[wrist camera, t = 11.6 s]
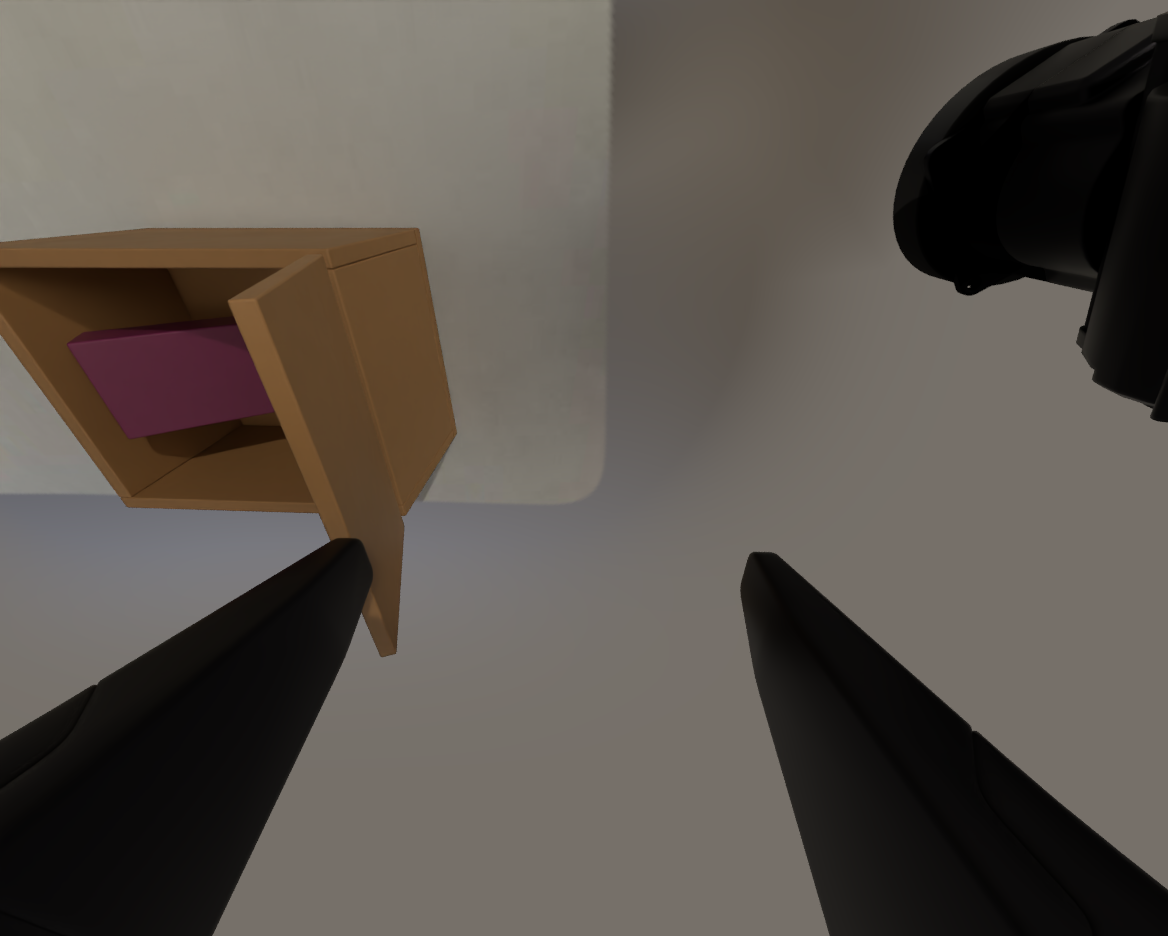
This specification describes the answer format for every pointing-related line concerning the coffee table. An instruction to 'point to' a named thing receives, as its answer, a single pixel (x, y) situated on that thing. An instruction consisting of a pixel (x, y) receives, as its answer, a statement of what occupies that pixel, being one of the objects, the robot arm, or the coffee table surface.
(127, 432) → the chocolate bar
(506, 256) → the coffee table surface
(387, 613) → the flap
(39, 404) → the coffee table surface
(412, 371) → the carton
